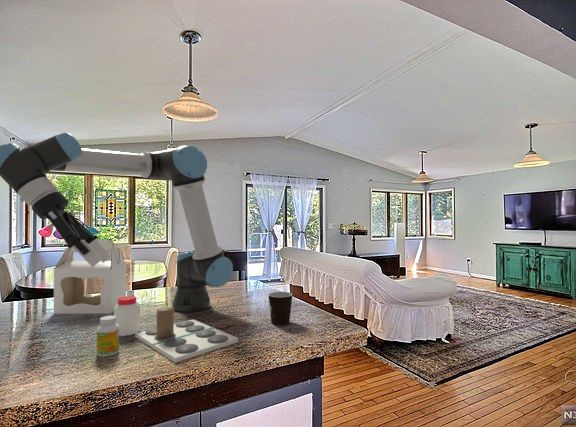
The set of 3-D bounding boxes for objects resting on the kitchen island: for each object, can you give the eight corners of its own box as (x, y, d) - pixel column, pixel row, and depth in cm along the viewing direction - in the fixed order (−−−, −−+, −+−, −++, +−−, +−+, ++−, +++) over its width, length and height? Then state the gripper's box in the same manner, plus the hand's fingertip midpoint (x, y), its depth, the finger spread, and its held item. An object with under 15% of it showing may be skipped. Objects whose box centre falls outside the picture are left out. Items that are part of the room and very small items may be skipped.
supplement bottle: (94, 358, 88) (94, 321, 88) (99, 350, 93) (100, 315, 94) (116, 355, 90) (116, 319, 90) (120, 348, 95) (121, 314, 95)
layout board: (135, 337, 104) (135, 306, 104) (193, 322, 118) (193, 295, 118) (175, 362, 85) (175, 325, 86) (238, 342, 100) (238, 310, 100)
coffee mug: (289, 327, 113) (290, 297, 113) (265, 325, 115) (265, 296, 115) (296, 317, 124) (296, 290, 125) (273, 315, 126) (273, 289, 126)
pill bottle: (113, 337, 103) (113, 302, 103) (113, 330, 110) (113, 296, 110) (140, 333, 107) (140, 299, 107) (139, 326, 114) (139, 294, 114)
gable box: (126, 304, 142) (127, 239, 142) (111, 313, 129) (112, 241, 129) (73, 305, 141) (74, 239, 142) (52, 314, 128) (53, 241, 128)
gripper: (48, 211, 96) (99, 266, 100) (8, 203, 73) (77, 276, 76) (72, 195, 99) (121, 250, 102) (40, 183, 75) (106, 254, 78)
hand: (102, 261), depth 89 cm, fingers open, 13 cm apart
